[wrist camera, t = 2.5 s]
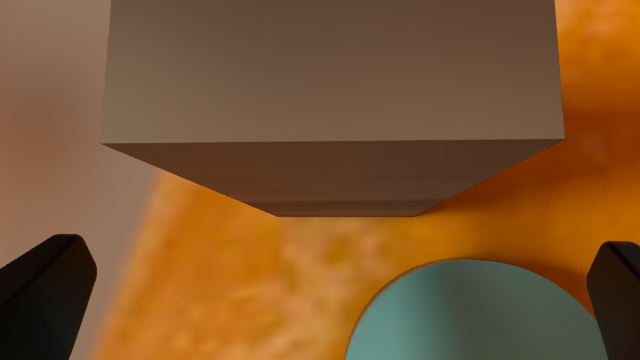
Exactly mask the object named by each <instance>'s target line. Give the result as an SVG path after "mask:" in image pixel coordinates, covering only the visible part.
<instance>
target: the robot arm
mask: <svg viewBox="0 0 640 360" xmlns="http://www.w3.org/2000/svg"><path fill="white" fill-rule="evenodd" d="M96 277H97V267H96V263H95V261H94V259H93V257H92V255H91V253H90V251H89V249H88V247H87V245H86V243H85V241H84V239H83V238H82V237H81V236H80V235H77V234H56V235H53V236H52V237H50V238H48V239H47V240H45V241H44V242H42V243H41V244H39V245H37V246H36V247H34V248H32V249H31V250H29V251H28V252H26V253H25V254H23V255H22V256H20V257H18V258H17V259H15V260H13V261H12V262H10V263H9V264H7V265H6V266H4V267H2V268H1V269H0V360H69V357H70V355H71V352H72V350H73V347H74V344H75V341H76V338H77V335H78V332H79V329H80V326H81V323H82V320H83V317H84V314H85V311H86V308H87V305H88V302H89V299H90V296H91V293H92V290H93V286H94V284H95V281H96ZM587 288H588V292H589V295H590V299H591V302H592V306H593V309H594V313H595V316H596V319H597V323H598V326H599V330H600V333H601V337H602V340H603V343H604V347H605V350H606V354H607V357H608V360H640V246H639V245H637V244H635V243H633V242H629V241H607V242H605V243H603V244H602V245H601V247H600V248H599V250H598V253H597V255H596V257H595V259H594V261H593V263H592V265H591V268H590V270H589V272H588V275H587Z"/></svg>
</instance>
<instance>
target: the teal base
mask: <svg viewBox="0 0 640 360" xmlns="http://www.w3.org/2000/svg"><path fill="white" fill-rule="evenodd" d="M345 360H608V357H607V354H606V350H605V347H604V343H603V340H602V337H601V333H600V330H599V326H598V323H597V321H596V320H595V319H594V318H593V316H592V315H591V314H590V313H589V312H588V311H587V310H586V309H585V308H584V307H583V306H582V305H581V304H580V303H579V302H578V301H577V300H576V299H575V298H574V297H572V296H571V295H570V294H569V293H567V292H566V291H565V290H564V289H562V288H561V287H559V286H558V285H556V284H554V283H553V282H551V281H550V280H548V279H546V278H544V277H542V276H540V275H538V274H536V273H534V272H531V271H529V270H526V269H523V268H520V267H517V266H514V265H511V264H505V263H500V262H495V261H486V260H476V259H460V258H456V259H442V260H437V261H433V262H428V263H425V264H422V265H419V266H416V267H413V268H411V269H409V270H407V271H405V272H403V273H402V274H400V275H398V276H397V277H395V278H394V279H392V280H391V281H390V282H388V283H387V284H386V285H385V286H383V287H382V288H381V289H380V290H379V291H378V292H377V293H376V294H375V295H374V296H373V298H372V299H371V300H370V301H369V302H368V304H367V305H366V306H365V308H364V309H363V311H362V313H361V314H360V316H359V317H358V319H357V321H356V324H355V326H354V328H353V330H352V332H351V336H350V339H349V342H348V345H347V349H346V355H345Z"/></svg>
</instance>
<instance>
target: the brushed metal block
mask: <svg viewBox="0 0 640 360" xmlns="http://www.w3.org/2000/svg"><path fill="white" fill-rule="evenodd" d="M564 139H565V134H564V120H563V107H562V94H561V81H560V67H559V54H558V41H557V28H556V14H555V1H554V0H111V12H110V25H109V37H108V50H107V62H106V74H105V87H104V99H103V111H102V125H101V136H100V144H103V145H105V146H107V147H110V148H112V149H115V150H117V151H119V152H122V153H124V154H127V155H129V156H132V157H134V158H136V159H139V160H141V161H144V162H146V163H149V164H151V165H153V166H156V167H158V168H161V169H163V170H165V171H168V172H170V173H173V174H175V175H178V176H180V177H182V178H185V179H187V180H190V181H192V182H194V183H197V184H199V185H202V186H204V187H207V188H209V189H211V190H214V191H216V192H219V193H221V194H224V195H226V196H228V197H231V198H233V199H236V200H238V201H240V202H243V203H245V204H248V205H250V206H253V207H255V208H257V209H260V210H262V211H265V212H267V213H269V214H272V215H274V216H277V217H413V216H415V215H417V214H419V213H421V212H423V211H425V210H427V209H429V208H431V207H433V206H435V205H437V204H439V203H441V202H443V201H444V200H446V199H448V198H450V197H452V196H454V195H456V194H458V193H460V192H462V191H464V190H466V189H468V188H470V187H472V186H474V185H476V184H478V183H480V182H482V181H484V180H485V179H487V178H489V177H491V176H493V175H495V174H497V173H499V172H501V171H503V170H505V169H507V168H509V167H511V166H513V165H515V164H517V163H519V162H521V161H523V160H525V159H526V158H528V157H530V156H532V155H534V154H536V153H538V152H540V151H542V150H544V149H546V148H548V147H550V146H552V145H554V144H556V143H558V142H560V141H562V140H564Z"/></svg>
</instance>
